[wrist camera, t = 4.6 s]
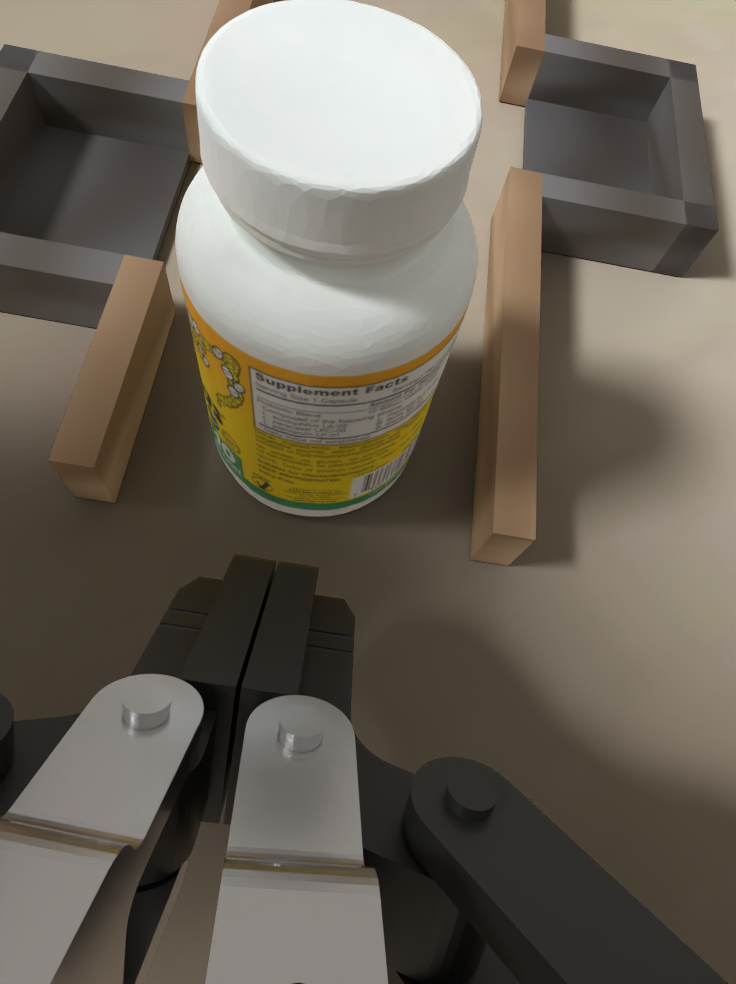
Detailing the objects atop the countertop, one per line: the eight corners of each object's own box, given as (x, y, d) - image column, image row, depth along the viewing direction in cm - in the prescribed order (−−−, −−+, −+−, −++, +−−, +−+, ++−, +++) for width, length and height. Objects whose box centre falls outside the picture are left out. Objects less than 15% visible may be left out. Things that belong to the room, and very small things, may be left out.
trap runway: (-156, 459, 16) (-213, 417, 14) (137, -101, 26) (127, -166, 25) (713, 598, 17) (764, 577, 15) (654, 9, 28) (680, -46, 26)
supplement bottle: (409, 531, 17) (546, 261, 8) (198, 513, 16) (97, 203, 7) (413, 358, 19) (524, -2, 10) (227, 337, 18) (176, -59, 10)
